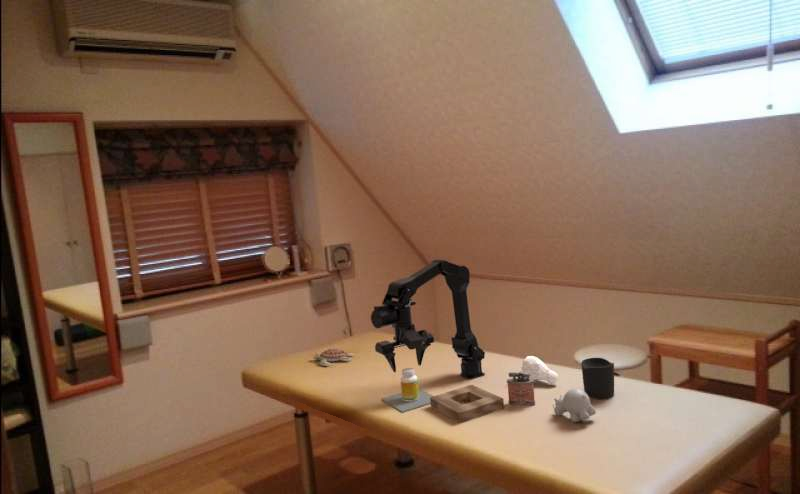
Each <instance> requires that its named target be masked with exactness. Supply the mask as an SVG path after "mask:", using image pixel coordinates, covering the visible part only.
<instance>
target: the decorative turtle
mask: <svg viewBox="0 0 800 494" xmlns="http://www.w3.org/2000/svg"><path fill="white" fill-rule="evenodd" d="M349 356H355V353H354V352H347V351H345V350H343V349H339V348H330V349H329V348H328V349H326V350H323V351H322V352H321V353H315V355H314V356H313V357H312V358H313V359H314V360H315V361H319V365H320V366H325V367H326V366H331V365H332V362H339V361H351V360H352V358H351V357H349Z"/></svg>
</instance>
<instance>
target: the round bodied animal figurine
mask: <svg viewBox="0 0 800 494" xmlns="http://www.w3.org/2000/svg"><path fill="white" fill-rule="evenodd" d="M554 402H555V404H554V403H552V408H553V412H554V414H555V415H557V416H560V417H561V416H562V415H564V413H569V414H570V421H571V423H578V422H580V421H582V422H583V421H587V420H589V419H590V417H591V416H595V414H596V413H597V411H596V409H595V407H594V406H593V405H592V404H591V398H590V397H589V396H588V395H587V394H586V393H585V392H584V389H583V390H582V389H580V388H571V389H569V390H568V391H566V392H565V394H564V395H562V394H560V396H559V398H557V397H554Z"/></svg>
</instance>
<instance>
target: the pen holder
mask: <svg viewBox="0 0 800 494" xmlns="http://www.w3.org/2000/svg"><path fill="white" fill-rule="evenodd" d="M581 374H582V382H583V391H584V392H585V393H586V394H587V395H588V396H589V398H590V397H591V398H590V399H594V398H597V400H604V399H603V398H607V399H610V398H612V397H613V396H614V395H615V363H614V362H612V361H611V362H610V361H609V360H607V359H605V358H604V357H589V358H586V359H585V358H584V359H583V360H582V361H581ZM611 396H612V397H611ZM609 397H610V398H609Z"/></svg>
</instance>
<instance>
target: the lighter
mask: <svg viewBox="0 0 800 494" xmlns="http://www.w3.org/2000/svg"><path fill="white" fill-rule="evenodd" d="M525 377H526V378H525ZM506 383H507V395H508V401H507V402H508V403H507V404H508V405H509V406H515V407H534V406H535V405H536V400H535V391H534V390H535V388H534V383H535V380H533V379H529V373H523V371H522V370H520V371H519V372H517V371H509V372H508V378H507V379H506Z"/></svg>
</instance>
